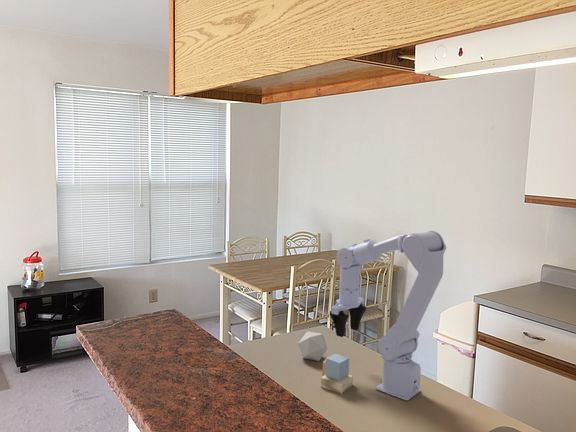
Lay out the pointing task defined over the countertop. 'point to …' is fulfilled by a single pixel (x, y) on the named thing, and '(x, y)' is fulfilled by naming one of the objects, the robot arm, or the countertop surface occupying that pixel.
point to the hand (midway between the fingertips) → (347, 332)
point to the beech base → (337, 383)
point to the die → (312, 346)
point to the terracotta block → (324, 367)
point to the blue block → (337, 367)
